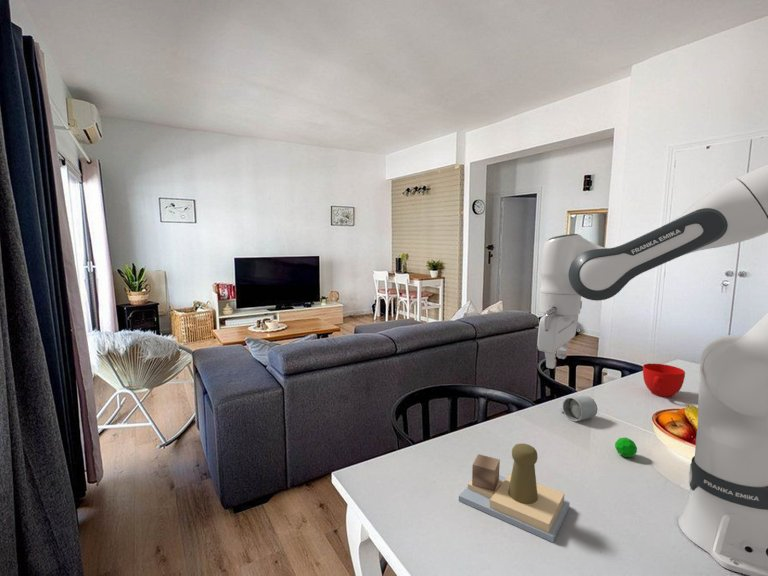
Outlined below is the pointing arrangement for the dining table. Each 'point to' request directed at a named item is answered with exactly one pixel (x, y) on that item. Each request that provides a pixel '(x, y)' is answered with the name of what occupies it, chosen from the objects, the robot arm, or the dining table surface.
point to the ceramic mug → (579, 408)
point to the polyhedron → (626, 447)
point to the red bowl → (663, 379)
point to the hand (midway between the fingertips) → (556, 362)
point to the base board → (485, 508)
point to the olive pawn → (523, 474)
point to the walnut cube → (485, 472)
